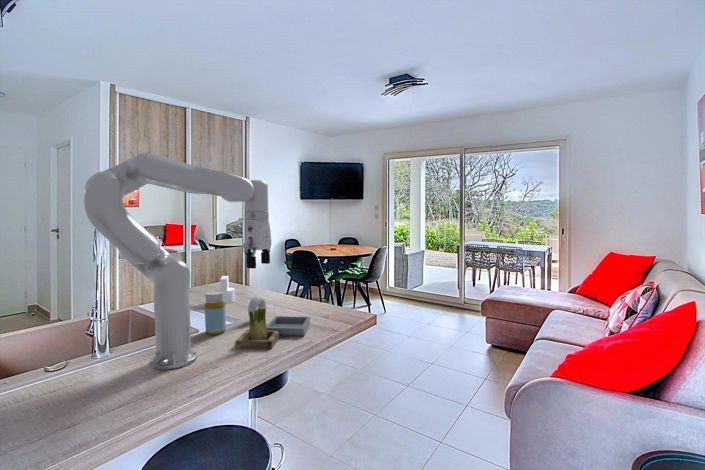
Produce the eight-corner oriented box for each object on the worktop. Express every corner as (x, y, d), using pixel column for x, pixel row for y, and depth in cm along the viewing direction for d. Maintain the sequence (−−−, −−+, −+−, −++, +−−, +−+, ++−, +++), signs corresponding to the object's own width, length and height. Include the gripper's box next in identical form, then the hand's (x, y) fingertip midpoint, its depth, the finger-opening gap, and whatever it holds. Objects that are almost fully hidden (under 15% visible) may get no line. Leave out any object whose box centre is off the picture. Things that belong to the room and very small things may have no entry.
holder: (271, 348, 120) (271, 341, 120) (235, 348, 120) (235, 340, 120) (279, 336, 131) (279, 330, 131) (247, 336, 131) (246, 329, 131)
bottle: (229, 332, 136) (228, 292, 135) (211, 337, 131) (209, 296, 129) (220, 327, 141) (219, 289, 139) (202, 332, 135) (201, 292, 134)
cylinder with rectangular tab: (216, 299, 182) (215, 276, 181) (235, 298, 185) (234, 275, 184) (214, 304, 174) (213, 279, 173) (234, 303, 176) (233, 278, 175)
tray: (303, 336, 131) (303, 328, 131) (265, 336, 132) (265, 328, 131) (310, 324, 145) (310, 316, 145) (275, 323, 146) (275, 316, 145)
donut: (253, 324, 145) (253, 299, 144) (246, 323, 146) (245, 298, 145) (268, 317, 154) (267, 293, 153) (261, 316, 155) (260, 293, 154)
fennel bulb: (249, 345, 123) (248, 310, 122) (250, 340, 128) (250, 306, 127) (266, 344, 124) (266, 310, 123) (267, 339, 129) (267, 306, 128)
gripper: (254, 217, 116) (255, 270, 118) (278, 215, 133) (279, 262, 134) (233, 217, 118) (235, 269, 120) (260, 215, 135) (261, 261, 136)
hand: (258, 265), depth 127 cm, fingers open, 9 cm apart
